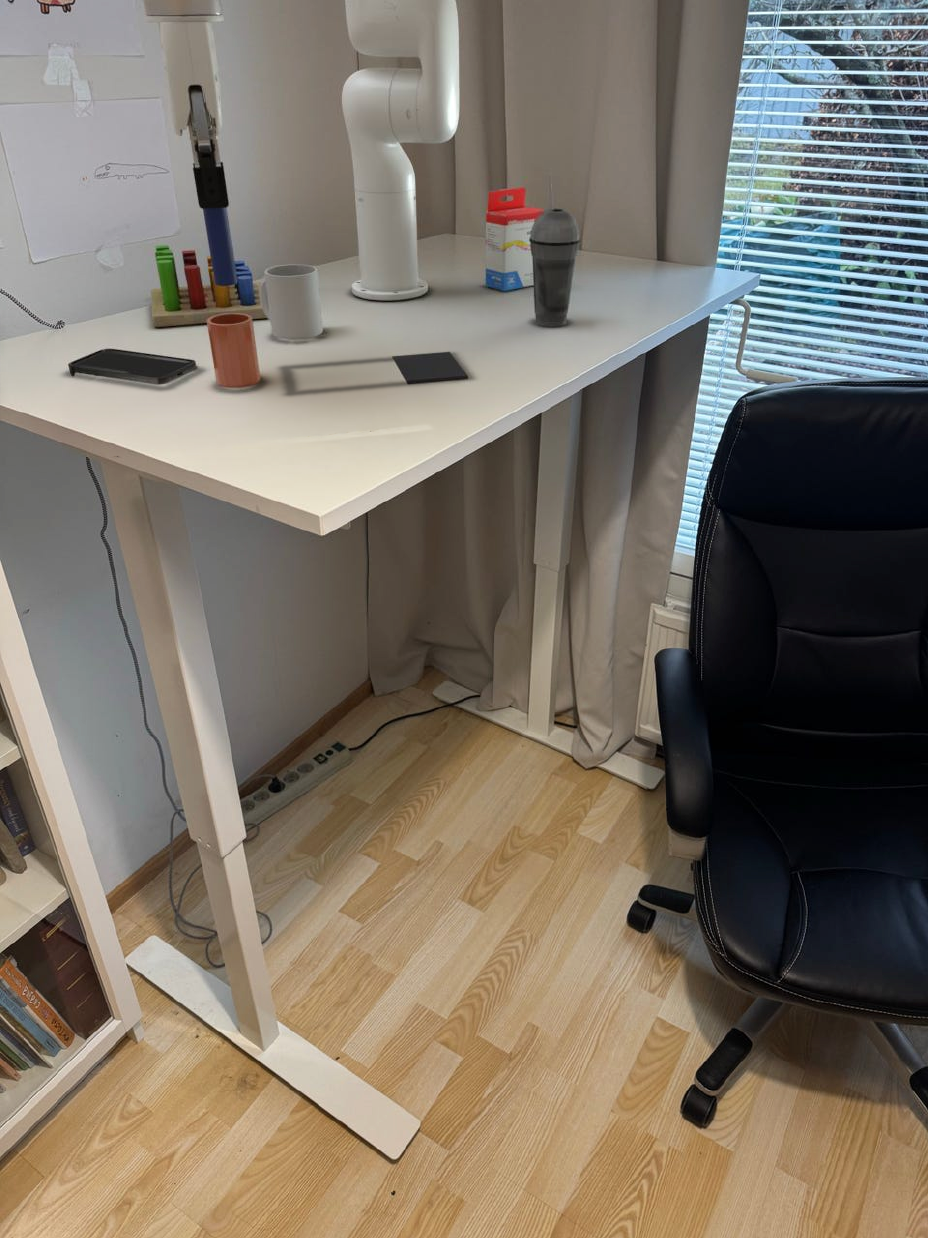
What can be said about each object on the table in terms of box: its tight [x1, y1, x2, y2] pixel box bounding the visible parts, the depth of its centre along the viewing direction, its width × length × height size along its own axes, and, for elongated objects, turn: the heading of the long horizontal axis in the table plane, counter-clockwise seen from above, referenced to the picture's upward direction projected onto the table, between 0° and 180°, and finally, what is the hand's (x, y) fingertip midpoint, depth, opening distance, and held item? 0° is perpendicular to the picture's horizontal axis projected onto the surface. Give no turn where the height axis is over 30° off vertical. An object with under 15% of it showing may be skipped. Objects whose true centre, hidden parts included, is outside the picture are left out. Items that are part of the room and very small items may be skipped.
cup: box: [259, 263, 324, 340], centre depth 126 cm, size 7×10×9 cm
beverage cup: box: [529, 172, 581, 328], centre depth 127 cm, size 7×7×20 cm
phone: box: [67, 348, 197, 385], centre depth 114 cm, size 8×1×15 cm
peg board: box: [150, 244, 268, 328], centre depth 137 cm, size 18×17×9 cm
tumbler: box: [206, 313, 261, 389], centre depth 108 cm, size 5×5×8 cm
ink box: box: [485, 186, 544, 292], centre depth 147 cm, size 8×5×15 cm, turn 129°
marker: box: [202, 155, 238, 286], centre depth 100 cm, size 3×3×14 cm
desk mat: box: [391, 351, 469, 385], centre depth 114 cm, size 10×22×1 cm, turn 104°
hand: (214, 203), depth 99 cm, fingers closed on marker, 2 cm apart
